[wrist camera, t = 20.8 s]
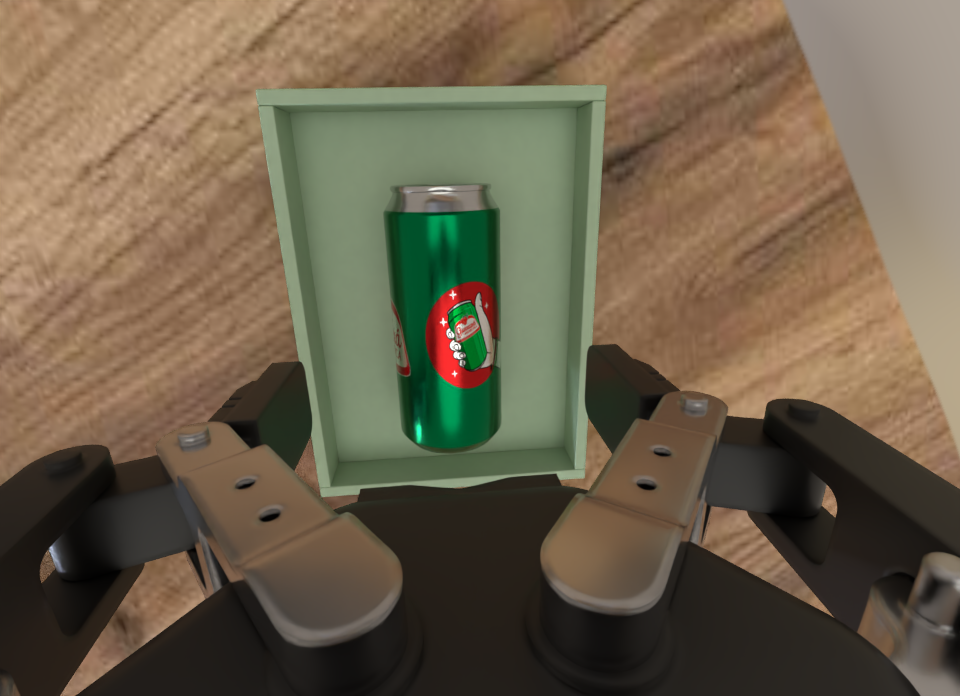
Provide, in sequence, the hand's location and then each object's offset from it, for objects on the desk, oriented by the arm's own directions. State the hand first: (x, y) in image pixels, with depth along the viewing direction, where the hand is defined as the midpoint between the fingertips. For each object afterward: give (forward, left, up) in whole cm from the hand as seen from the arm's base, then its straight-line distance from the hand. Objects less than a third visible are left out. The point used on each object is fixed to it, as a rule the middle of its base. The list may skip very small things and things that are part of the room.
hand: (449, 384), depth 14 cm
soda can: (+2, -6, -9) cm, 12 cm away
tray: (0, 0, -12) cm, 12 cm away
